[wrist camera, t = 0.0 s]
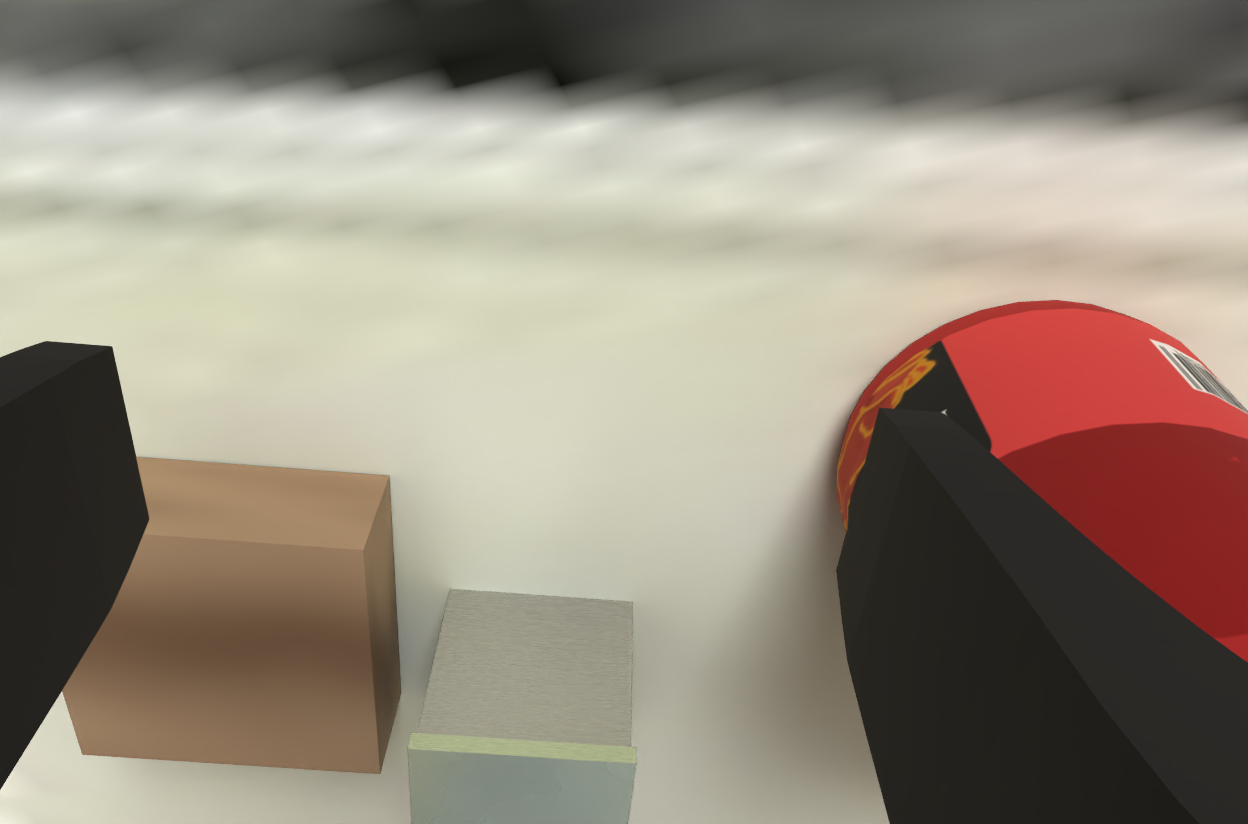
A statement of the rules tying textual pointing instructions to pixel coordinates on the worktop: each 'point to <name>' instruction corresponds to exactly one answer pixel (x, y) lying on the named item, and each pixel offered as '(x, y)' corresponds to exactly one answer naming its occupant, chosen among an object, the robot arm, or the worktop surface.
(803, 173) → the worktop surface
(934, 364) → the canned food
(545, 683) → the tea tin
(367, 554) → the walnut block
